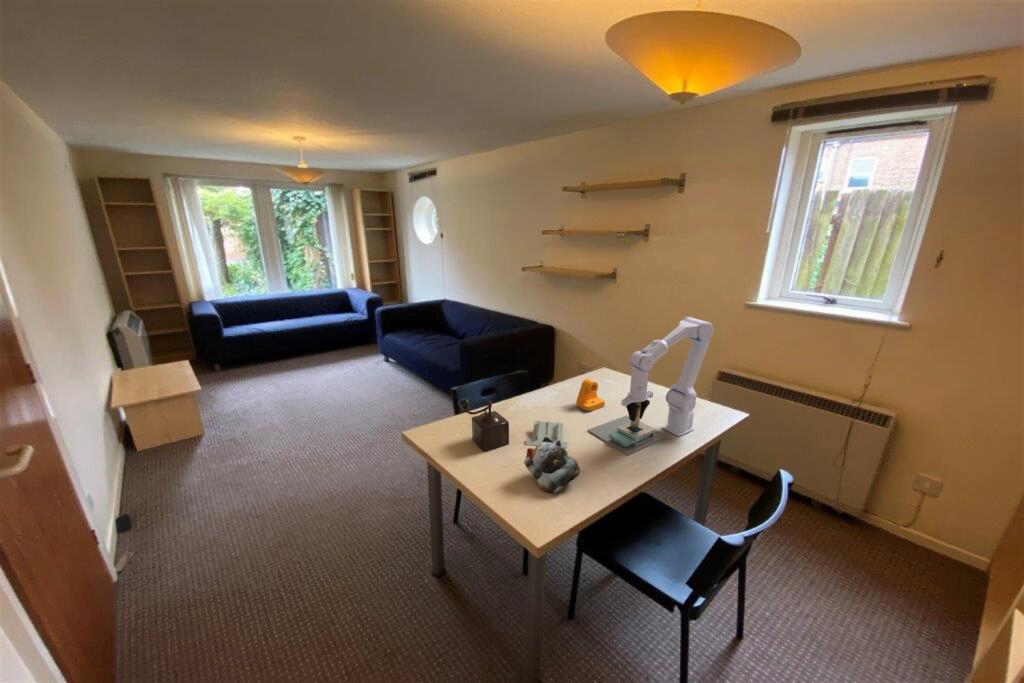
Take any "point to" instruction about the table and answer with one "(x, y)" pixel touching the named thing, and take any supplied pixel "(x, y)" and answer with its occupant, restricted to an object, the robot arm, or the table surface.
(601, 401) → the bracket
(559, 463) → the lucky cat figurine
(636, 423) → the maple pin
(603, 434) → the rubber mat
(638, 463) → the table surface
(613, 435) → the peg hole fixture
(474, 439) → the brown coffee grinder
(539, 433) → the metal bracket
